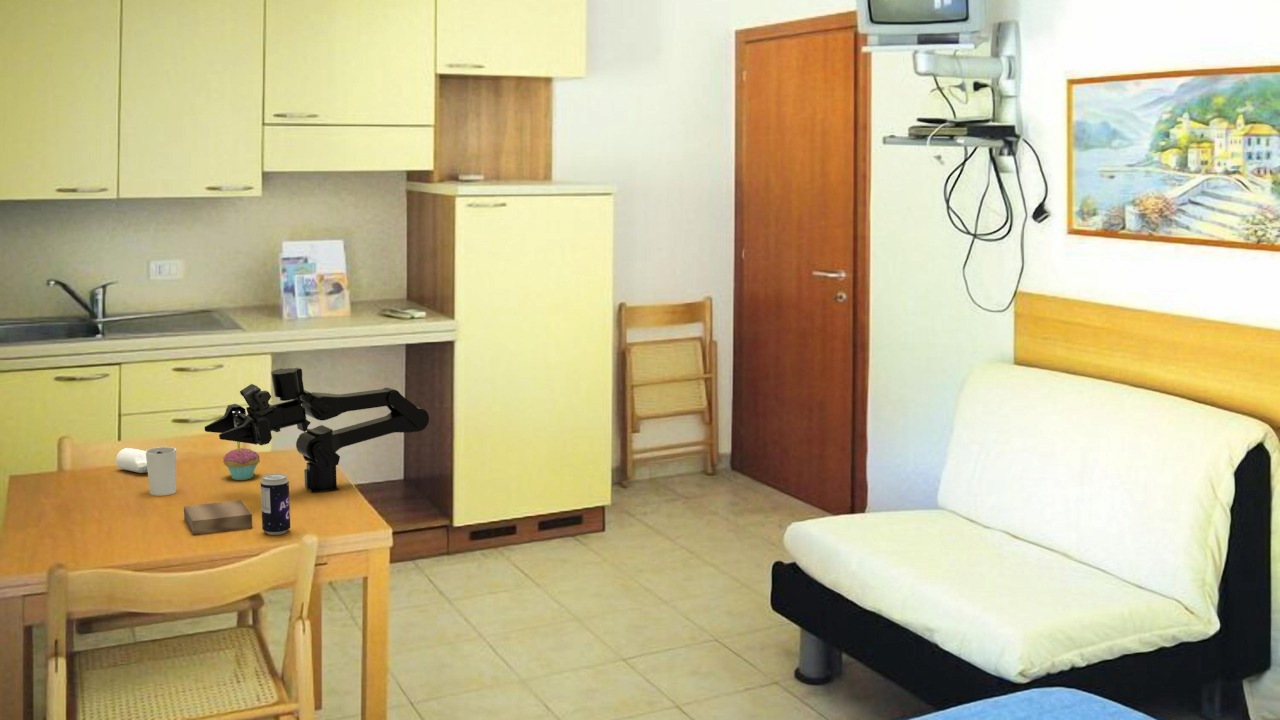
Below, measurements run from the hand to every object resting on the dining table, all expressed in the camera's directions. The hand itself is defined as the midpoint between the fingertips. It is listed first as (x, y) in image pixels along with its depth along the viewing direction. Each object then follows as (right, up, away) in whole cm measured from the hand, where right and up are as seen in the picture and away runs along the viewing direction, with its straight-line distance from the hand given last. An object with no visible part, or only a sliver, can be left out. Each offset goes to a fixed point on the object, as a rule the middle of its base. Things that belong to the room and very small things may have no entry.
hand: (212, 433), depth 294 cm
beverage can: (+19, -20, -16) cm, 32 cm away
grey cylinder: (-16, -15, +13) cm, 25 cm away
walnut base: (+5, -19, -11) cm, 22 cm away
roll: (-27, -12, +31) cm, 43 cm away
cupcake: (-2, -12, +27) cm, 30 cm away
